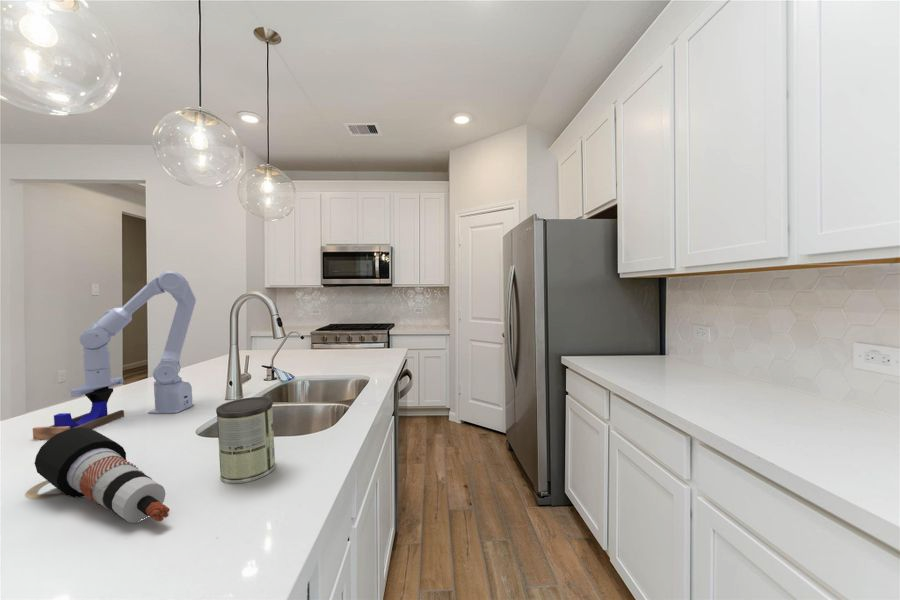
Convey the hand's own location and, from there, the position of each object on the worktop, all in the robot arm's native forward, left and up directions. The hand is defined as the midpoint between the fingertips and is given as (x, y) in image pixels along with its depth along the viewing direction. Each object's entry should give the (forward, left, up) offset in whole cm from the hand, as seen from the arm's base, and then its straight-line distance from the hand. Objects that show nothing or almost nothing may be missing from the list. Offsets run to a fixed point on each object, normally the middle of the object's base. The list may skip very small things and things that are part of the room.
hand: (100, 413), depth 114 cm
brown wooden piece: (0, +5, -2) cm, 5 cm away
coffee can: (-63, +33, -2) cm, 71 cm away
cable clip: (-1, +7, -2) cm, 8 cm away
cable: (-44, +44, -2) cm, 62 cm away
